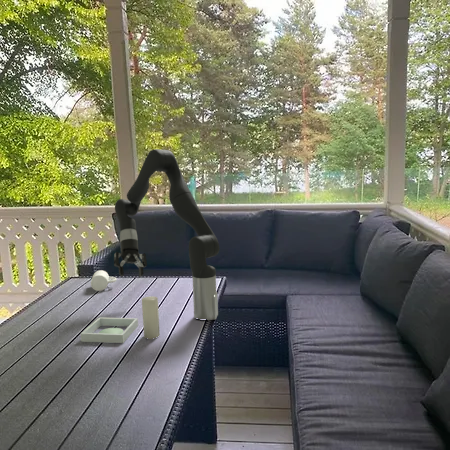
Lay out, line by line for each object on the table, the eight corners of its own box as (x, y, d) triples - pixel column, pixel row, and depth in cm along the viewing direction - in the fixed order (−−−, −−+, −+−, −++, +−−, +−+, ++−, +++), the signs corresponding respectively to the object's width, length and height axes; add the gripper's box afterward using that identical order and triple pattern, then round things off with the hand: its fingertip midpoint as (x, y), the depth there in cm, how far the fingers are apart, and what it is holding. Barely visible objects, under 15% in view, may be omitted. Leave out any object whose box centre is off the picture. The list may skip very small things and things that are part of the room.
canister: (161, 333, 162) (159, 296, 160) (157, 339, 157) (155, 301, 155) (146, 332, 163) (144, 296, 161) (141, 338, 158) (139, 301, 155)
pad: (126, 329, 167) (126, 328, 167) (117, 338, 158) (117, 337, 158) (104, 328, 168) (104, 327, 168) (94, 338, 160) (94, 337, 159)
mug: (91, 291, 215) (90, 276, 214) (93, 286, 224) (92, 270, 223) (116, 289, 217) (115, 274, 216) (117, 284, 227) (116, 269, 225)
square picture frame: (138, 325, 170) (137, 318, 169) (123, 343, 155) (122, 335, 154) (99, 324, 172) (99, 317, 172) (81, 341, 157) (80, 333, 156)
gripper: (116, 237, 190) (118, 273, 184) (147, 239, 198) (150, 273, 192) (110, 243, 196) (112, 278, 190) (140, 244, 203) (143, 278, 198)
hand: (131, 276), depth 191 cm, fingers open, 8 cm apart
